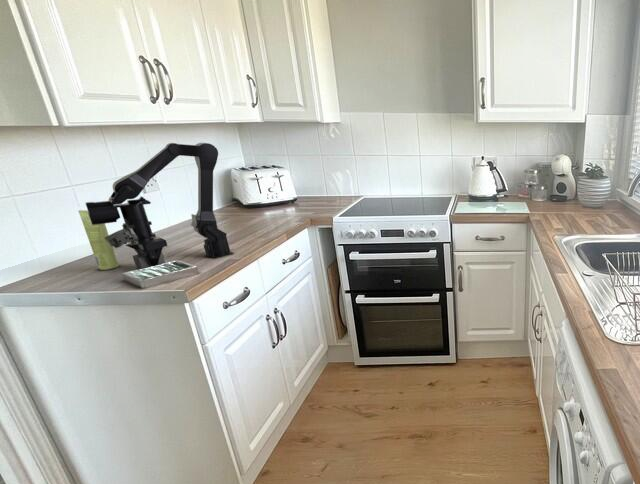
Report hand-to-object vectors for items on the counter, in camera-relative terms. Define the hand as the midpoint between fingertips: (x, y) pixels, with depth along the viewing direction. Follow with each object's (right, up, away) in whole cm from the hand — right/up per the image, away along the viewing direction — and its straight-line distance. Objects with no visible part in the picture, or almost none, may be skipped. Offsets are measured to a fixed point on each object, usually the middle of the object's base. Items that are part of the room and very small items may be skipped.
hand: (151, 265), depth 138 cm
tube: (-15, -1, +1) cm, 15 cm away
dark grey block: (0, -1, 0) cm, 1 cm away
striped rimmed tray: (+10, -4, -7) cm, 13 cm away
